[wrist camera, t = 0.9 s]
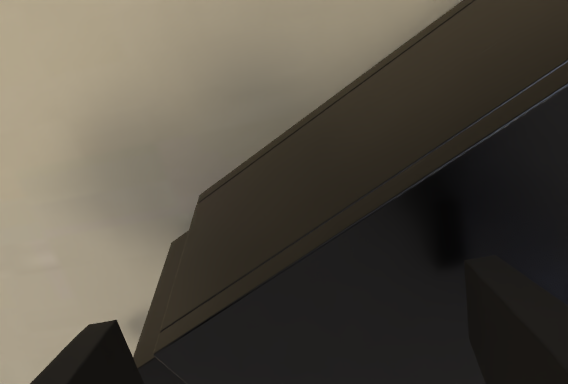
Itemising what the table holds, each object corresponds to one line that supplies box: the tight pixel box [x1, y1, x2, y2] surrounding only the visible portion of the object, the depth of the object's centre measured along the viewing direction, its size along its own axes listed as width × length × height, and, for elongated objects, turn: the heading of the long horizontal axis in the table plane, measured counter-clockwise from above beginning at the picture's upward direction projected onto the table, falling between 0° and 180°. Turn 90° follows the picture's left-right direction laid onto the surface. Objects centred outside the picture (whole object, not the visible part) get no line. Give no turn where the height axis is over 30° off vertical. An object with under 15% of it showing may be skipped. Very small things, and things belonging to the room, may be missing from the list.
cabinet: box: [153, 0, 568, 384], centre depth 17 cm, size 14×13×9 cm
